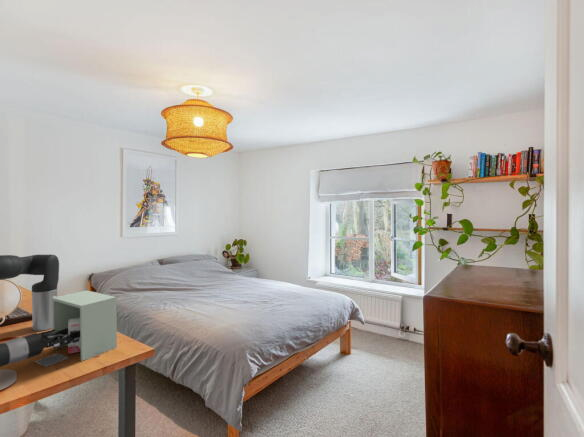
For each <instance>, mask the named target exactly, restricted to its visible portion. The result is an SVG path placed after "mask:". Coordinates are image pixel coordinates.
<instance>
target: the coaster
mask: <svg viewBox="0 0 584 437" xmlns="http://www.w3.org/2000/svg"><path fill="white" fill-rule="evenodd" d="M68 358H69V357H67V356H65V355H63V354H60V353H58V352H57V353H55V354H51V355H48V356H46V357H43V358H40V359H37V360H35V363H37V364H39V365H41V366H42V367H46V368H47V367H49V366H51V365H54V364H57V363H60V362H63V361H65V360H68Z"/></svg>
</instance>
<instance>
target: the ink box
mask: <svg viewBox="0 0 584 437" xmlns="http://www.w3.org/2000/svg"><path fill="white" fill-rule="evenodd" d="M77 331H80V318H74V319H69V320H68V334H71V333H74V332H77ZM67 353H68V355H69V354H75V353H81V345H80V337H79V338H76V339H73V340H71V343H70V344H68V345H67Z"/></svg>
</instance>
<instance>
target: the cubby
mask: <svg viewBox="0 0 584 437" xmlns="http://www.w3.org/2000/svg"><path fill="white" fill-rule="evenodd" d="M117 314H118V313H117V297H116V296H112V295H109V294H105V293H99V292H96V291H91V290H84V291H83V290H82V291H78V292H73V293H68V294H64V295H60V296H57V297H54V298H52V321H53V328H52V330H55V331H56V330H59V331H60V330H63V329H66V328H68V320H69V319H74V318H80V345H81V352H80V361H81V362H83V361H87V360H89V359H91V358H94V357H96V356H99V355H101V354H103V353H106V352H108V351H112V350H115V349H116V348H118V336H117V334H118V331H117V328H118V326H117V324H118V323H117V320H118V319H117V317H118V316H117ZM63 338H64V337H63ZM59 339H60V338H59V337H58V340H59ZM66 346H68V344H67V345H64V346H62V347H59V348H58V349H60V348H63V347H66Z"/></svg>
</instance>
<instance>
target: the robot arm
mask: <svg viewBox="0 0 584 437" xmlns="http://www.w3.org/2000/svg"><path fill="white" fill-rule="evenodd" d="M59 261H60V260H59V258H58V256H57V255H55V254H34V255H28V256H18V255H11V254H9V255H8V254H6V255H5V254H3V255H1V254H0V280H9V279H14V278H16V277H19V276H20V275H27V276H29V275H32V276H43V279H42V280H41V281H39V282H35V283H34V284H32V286H31V307H32V308H31V314H32V315H31V316H32V319H31V320H32V321H31V322H32V323H31V324H32V330H33V331H36V332H37V331H39V332H37V333H36V332H35V333H30V334H28V335H24V336H20V337H17V338H13V339H10V340H8V341H5V342H1V343H0V368H1V367H4V366H7V365H11V364H15V363H19V362H22V361H25V360H27V359H30V358H33V357H37V356H39V355H41V354H42V353H43V351H44V349H45V348H47V349H49V348H52V349H53V350H57V349H60V348H63V347H65V346H64V345H66V346H68V345H67V344H70V343H71V340H73V339H76V338H79V337H80V331H77V332H74V333H71V334H68V328H66V329H63V330H60V331H59V330H56V331H55V330H53V321H52V298H54V297H58V284H59V279H60V277H59V275H60V273H59V272H60V262H59ZM40 331H41V332H40ZM42 331H43V332H42ZM58 337H59V338H60V339H59V340H58ZM63 337H64V338H63ZM62 346H63V347H62ZM59 347H60V348H59Z"/></svg>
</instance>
